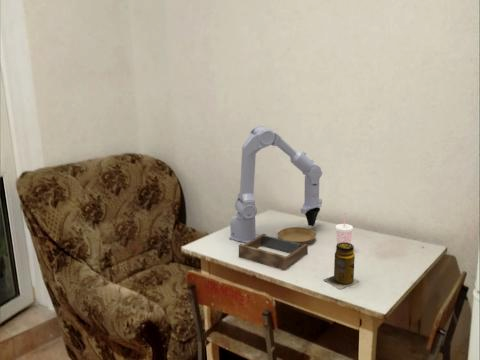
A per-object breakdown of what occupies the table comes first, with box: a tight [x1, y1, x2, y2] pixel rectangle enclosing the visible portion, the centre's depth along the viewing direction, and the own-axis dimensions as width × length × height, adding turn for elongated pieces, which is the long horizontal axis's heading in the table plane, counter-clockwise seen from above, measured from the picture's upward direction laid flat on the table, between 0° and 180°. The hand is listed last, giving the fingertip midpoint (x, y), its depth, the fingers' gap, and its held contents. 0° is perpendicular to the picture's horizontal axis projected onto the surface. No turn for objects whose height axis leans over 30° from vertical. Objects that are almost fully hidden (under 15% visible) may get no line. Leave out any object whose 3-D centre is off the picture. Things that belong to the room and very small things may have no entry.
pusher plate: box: [261, 234, 302, 254], centre depth 165 cm, size 16×1×4 cm, turn 54°
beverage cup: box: [335, 213, 354, 245], centre depth 163 cm, size 6×6×14 cm
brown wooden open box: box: [238, 233, 309, 271], centre depth 161 cm, size 19×16×4 cm
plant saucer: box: [277, 226, 317, 246], centre depth 175 cm, size 15×15×3 cm
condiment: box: [323, 242, 360, 290], centre depth 141 cm, size 7×8×12 cm
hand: (311, 225), depth 184 cm, fingers closed
